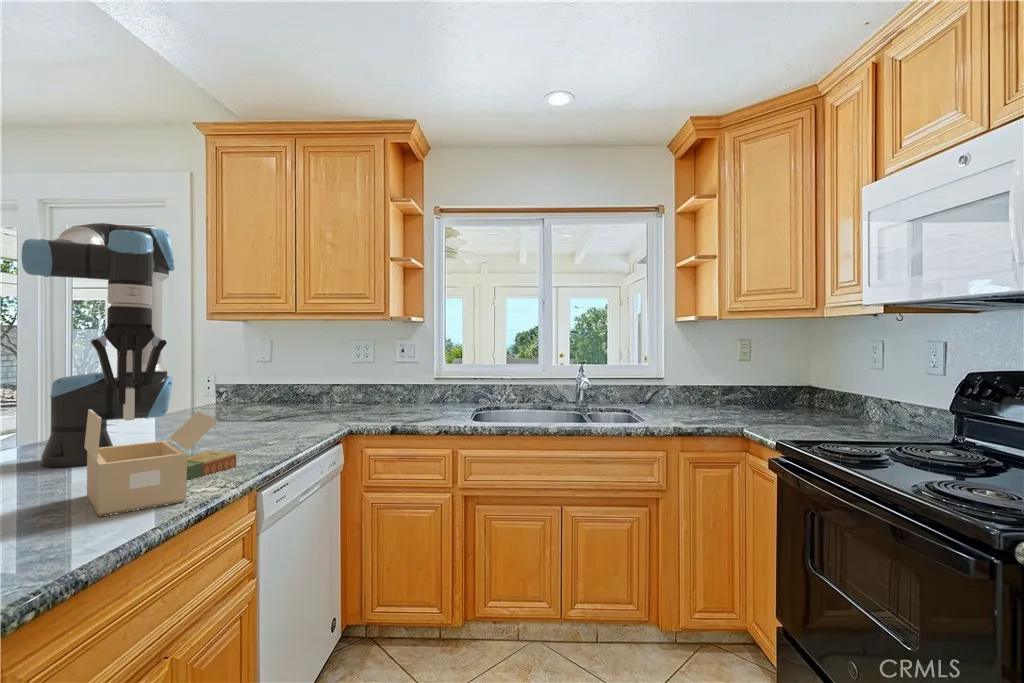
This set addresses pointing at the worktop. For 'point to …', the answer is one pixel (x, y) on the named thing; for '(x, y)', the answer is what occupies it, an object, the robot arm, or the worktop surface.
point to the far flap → (193, 430)
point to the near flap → (93, 434)
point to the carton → (209, 463)
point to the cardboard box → (136, 477)
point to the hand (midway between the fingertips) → (128, 419)
